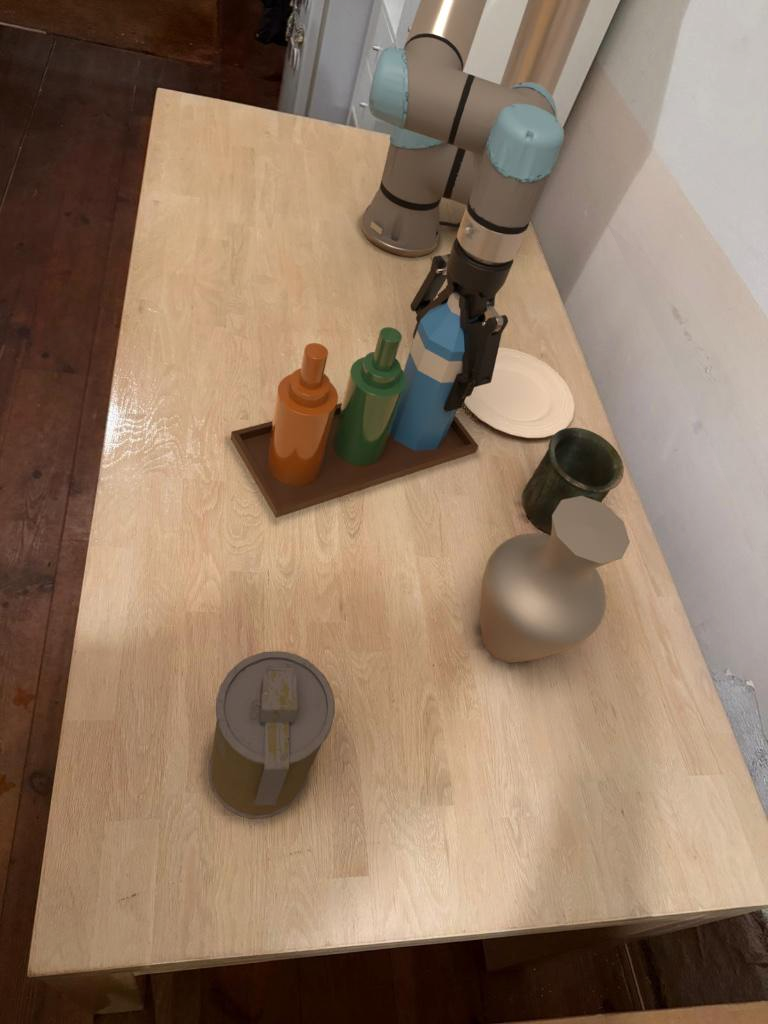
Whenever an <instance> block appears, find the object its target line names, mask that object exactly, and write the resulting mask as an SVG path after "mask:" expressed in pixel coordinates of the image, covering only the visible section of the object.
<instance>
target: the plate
mask: <svg viewBox="0 0 768 1024" xmlns="http://www.w3.org/2000/svg"><path fill="white" fill-rule="evenodd" d="M463 405H464V406H465V407H466V408H467V410H468V411H469V412H470V413H472V414H473V415H474V416H475V417H476V418H477V419H478V420H479V421H480V422H483V423H484V424H485V425H487V426H489V427H490V428H491V429H494V430H497V431H499V432H500V433H501V432H502V433H504V434H507V435H508V436H513V437H517V438H523V439H545V438H549V437H552V436H553V435H554V434H555V433H557V432H558V431H560V430H562V429H565V428H568V426H569V425H570V423H571V422H572V420H573V419H574V416H575V415H574V414H575V410H576V406H575V400H574V395H573V393H572V391H571V390H570V387H569V385H568V384H567V382H566V381H565V379H563V378H562V376H561V375H560V374H559V373H558V372H557V371H556V370H555V369H553V367H551V366H550V365H549V364H548V363H546V362H544V361H542V360H541V359H539V358H537V357H535V356H534V355H532V354H529V353H526V352H524V351H522V350H517V349H514V348H508V347H502V346H501V347H500V346H499V349H498V353H497V358H496V362H495V367H494V371H493V376H492V380H491V383H488V384H485V385H481V386H477V387H474V389H473V391H472V394H471V395H470V396H469V397H466V399H465V401H464V403H463Z"/></svg>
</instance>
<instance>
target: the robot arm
mask: <svg viewBox="0 0 768 1024" xmlns="http://www.w3.org/2000/svg"><path fill="white" fill-rule="evenodd" d="M487 1H488V0H420V2H419V4H418V7H417V9H416V11H415V15H414V17H413V21H412V24H411V26H410V30H409V32H408V35H407V38H406V40H405V43H404V47H403V48H401V47H400V48H396V47H392V46H387V47H385V48H384V49H383V50H382V52H381V53H380V55H379V57H378V59H377V62H376V66H375V70H374V73H373V76H372V81H371V86H370V90H369V96H368V110H369V112H370V114H371V115H372V117H374V118H376V119H378V120H380V121H382V122H385V123H386V124H389V125H392V126H393V128H392V132H391V134H390V135H389V146H388V151H387V155H386V159H385V163H384V167H383V172H382V176H381V180H380V185H379V187H378V190H377V191H376V193H375V195H373V196H374V197H373V198H372V200H371V202H370V203H369V205H368V206H367V207H366V208H365V211H364V212H363V216H362V220H361V226H360V227H361V231H362V232H363V233H362V234H363V235H364V236H365V237H366V239H367V240H369V242H370V243H372V244H373V245H374V246H376V247H377V248H379V249H380V250H382V251H385V252H387V253H390V254H392V255H396V256H401V257H405V258H406V257H407V258H418V257H423V256H426V255H429V254H431V253H432V252H433V251H435V249H436V248H437V246H438V243H439V239H440V233H441V230H440V229H441V228H440V226H443V227H449V228H458V229H457V233H456V238H455V239H454V241H453V243H452V247H451V250H450V253H447V254H446V253H445V254H439V255H434V256H433V258H432V261H431V265H430V269H429V271H428V274H427V275H426V277H425V279H424V280H423V282H422V283H421V285H420V287H419V289H418V290H417V292H416V293H415V295H414V298H413V299H412V301H411V302H410V311H412V312H415V314H416V316H415V320H416V321H415V322H416V324H415V327H414V330H413V333H412V339H413V340H414V338H415V335H416V332H417V329H418V326H419V323H420V320H421V319H422V318H423V317H424V316H425V315H426V314H427V312H428V311H429V310H430V309H433V308H435V307H437V306H439V305H441V304H443V303H445V302H447V301H448V299H449V296H450V295H451V294H452V293H455V292H457V293H458V294H459V295H460V297H459V308H460V327H461V328H462V329H463V332H464V350H465V352H464V354H463V358H462V373H460V374H457V376H456V378H455V381H454V383H453V386H452V388H451V391H450V393H449V396H448V398H447V401H446V403H445V405H444V408H443V409H444V410H445V411H446V412H449V411H452V410H456V409H457V410H459V409H462V408H463V406H464V401H465V399H466V397H469V396H470V395H471V394H472V391H473V389H474V387H477V386H481V385H485V384H488V383H491V380H492V376H493V371H494V367H495V362H496V358H497V353H498V349H499V347H500V345H501V344H500V343H501V339H502V335H503V333H504V330H505V328H506V327H507V325H508V323H509V317H508V316H507V315H506V314H503V315H502V314H501V315H500V314H499V312H498V311H497V310H496V308H495V304H496V296H497V293H498V292H499V291H500V290H501V289H502V288H503V286H504V285H505V283H506V281H507V278H508V276H509V274H510V271H511V269H512V266H513V264H514V260H515V258H516V257H517V255H518V253H519V250H520V248H521V245H522V243H523V240H524V238H525V235H526V233H527V230H528V228H529V225H530V223H531V219H532V217H533V214H534V212H535V209H536V207H537V205H538V203H539V201H540V199H541V196H542V194H543V191H544V188H545V187H546V185H547V182H548V180H549V178H550V175H551V173H552V172H553V171H554V170H555V168H556V164H557V163H558V157H559V154H560V150H561V148H562V145H563V142H564V140H565V130H564V127H563V125H562V124H561V123H559V120H558V113H557V106H556V102H555V100H554V98H553V96H554V94H555V91H556V88H557V86H558V83H559V81H560V78H561V76H562V74H563V71H564V69H565V65H566V63H567V61H568V58H569V56H570V53H571V51H572V48H573V46H574V43H575V41H576V38H577V35H578V33H579V31H580V28H581V25H582V23H583V21H584V19H585V16H586V14H587V11H588V8H589V5H590V3H591V1H592V0H527V2H526V6H525V9H524V12H523V14H522V18H521V20H520V24H519V27H518V28H517V29H518V30H517V32H516V35H515V38H514V42H513V44H512V47H511V51H510V54H509V57H508V60H507V63H506V66H505V68H504V71H503V74H502V78H501V81H500V83H497V82H493V81H490V80H487V79H484V78H481V77H480V76H479V77H478V76H476V75H473V74H470V73H467V72H465V71H464V70H465V67H466V64H467V62H468V59H469V55H470V52H471V49H472V46H473V43H474V41H475V37H476V34H477V31H478V28H479V26H480V22H481V19H482V16H483V13H484V10H485V7H486V4H487ZM442 198H444V199H446V200H449V201H453V202H456V203H459V204H462V205H465V206H466V207H465V209H464V212H463V216H462V218H461V221H460V223H458V222H457V223H455V222H449V221H444V220H443V221H442V220H440V204H441V202H442V201H441V200H442ZM445 282H446V286H445V287H444V288H443V286H444V284H445ZM442 288H443V289H442ZM441 289H442V290H441ZM477 317H478V319H477V320H475V321H471V322H469V319H473V318H477Z"/></svg>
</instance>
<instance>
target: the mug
mask: <svg viewBox="0 0 768 1024" xmlns="http://www.w3.org/2000/svg"><path fill="white" fill-rule="evenodd" d="M624 473H625V469H624V463H623V460H622V457H621V456H620V454H619V452H618V451H617V449H616V448H615V447H614V446H613V445H612V443H610V442H609V441H608V440H607V439H606V438H604V437H603V436H601V435H599V434H598V433H596V432H594V431H591V430H589V429H585V428H582V427H566V428H565V429H562V430H560V431H558V432H557V433H555V434H554V435H553V436H551V438H550V440H549V442H548V448H547V451H546V452H545V454H544V455H543V457H542V459H541V460H540V462H539V464H538V466H537V467H536V468H535V471H534V472H533V473H532V475H531V477H530V479H529V480H528V482H527V484H526V485H525V487H524V488H523V491H522V494H521V502H522V503H521V504H522V508H523V510H524V512H525V514H526V516H527V518H528V520H529V521H530V522H531V523H532V524H533V525H534V526H535V527H536V528H537V529H539V530H540V531H542V532H544V533H547V534H548V535H551V531H552V514H553V513H554V511H555V510H556V508H557V507H558V505H559V503H560V502H561V500H564V499H569V498H574V497H578V496H584V497H587V498H590V499H592V500H595V501H598V502H601V503H603V501H604V499H605V498H606V497H607V495H608V494H609V493H610V491H612V490H613V489H616V487H618V486H619V485H620V484H621V482H622V480H623V477H624Z"/></svg>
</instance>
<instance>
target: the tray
mask: <svg viewBox="0 0 768 1024" xmlns="http://www.w3.org/2000/svg"><path fill="white" fill-rule="evenodd" d="M341 406H342V402H341V403H337V406H336V410H335V414H334V418H333V422H332V426H331V431H330V435H329V439H328V443H327V447H326V451H325V455H324V459H323V463H322V467H321V471H320V474H319V476H318V477H317V478H316V479H315V480H314V481H313V482H311V483H309V484H307V485H302V486H292V485H287V484H284V483H282V482H280V481H278V480H277V479H275V478H274V477H273V476H272V475H271V473H270V472H269V470H268V467H267V456H268V449H269V443H270V436H271V430H272V423H273V420H271V421H267V422H264V423H259V424H256V425H252V426H248V427H244V428H240V429H236V430H232V431H231V432H230V441H231V442H232V444H233V445H234V447H235V449H236V451H237V453H238V454H239V456H240V458H241V460H242V461H243V463H244V465H245V466H246V468H247V470H248V472H249V474H250V475H251V477H252V479H253V480H254V482H255V484H256V485H257V487H258V489H259V491H260V493H261V494H262V496H263V498H264V500H265V502H267V505H268V507H269V509H270V510H271V512H272V514H273V515H274V517H275V518H281V517H283V516H286V515H288V514H289V515H290V514H292V513H294V512H298V511H300V510H304V509H307V508H310V507H314V506H316V505H319V504H323V503H325V502H328V501H331V500H335V499H338V498H341V497H343V496H344V497H345V496H346V495H350V494H354V493H356V492H360V491H362V490H365V489H368V488H371V487H375V486H378V485H380V484H383V483H386V482H390V481H393V480H396V479H398V478H403V477H405V476H408V475H411V474H414V473H417V472H420V471H423V470H426V469H429V468H432V467H436V466H439V465H441V464H445V463H447V462H451V461H454V460H457V459H460V458H463V457H467V456H469V455H472V454H476V452H477V451H478V448H479V445H478V443H477V442H476V441H475V439H474V438H473V437H472V435H471V434H470V433H469V432H468V430H467V429H466V428H465V426H464V425H463V424H462V423H461V421H460V420H459V418H458V417H457V416H456V415H455V416H454V418H453V421H452V423H451V425H450V428H449V430H448V432H447V435H446V436H445V438H444V439H443V441H442V442H441V443H440V445H439V446H438V448H437V449H432V450H420V451H414V450H412V449H410V448H408V447H407V446H405V445H403V444H401V443H399V442H398V441H396V440H394V438H393V436H392V433H391V432H390V435H389V438H388V441H387V444H386V447H385V449H384V452H383V455H382V457H381V458H380V459H379V460H378V461H377V462H375V463H374V464H371V465H366V466H360V465H354V464H351V463H348V462H346V461H345V460H343V459H342V458H340V457H339V456H338V454H337V453H336V452H335V450H334V447H333V437H334V433H335V429H336V426H337V422H338V418H339V414H340V410H341Z"/></svg>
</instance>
